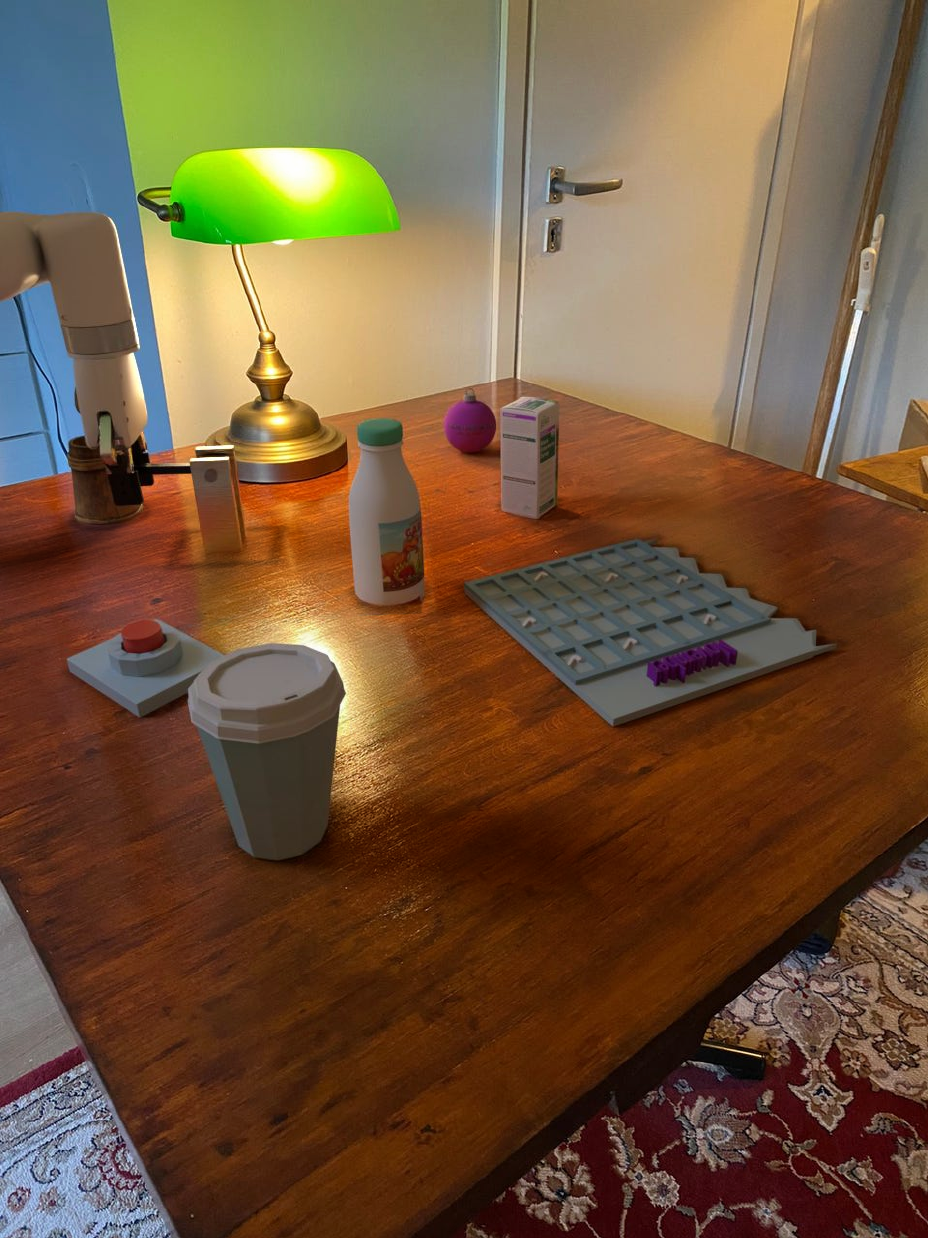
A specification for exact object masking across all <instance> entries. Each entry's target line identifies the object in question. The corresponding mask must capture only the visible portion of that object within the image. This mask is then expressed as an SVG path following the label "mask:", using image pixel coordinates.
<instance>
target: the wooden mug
mask: <svg viewBox="0 0 928 1238" xmlns="http://www.w3.org/2000/svg"><path fill="white" fill-rule="evenodd" d="M73 392H74V393H73V394H74V395H73V396H74V407H75V410H76V412H78V414H80V409H79V404H78V398H77V392H76V385H75V387H74V391H73ZM67 445H68V446H67V447H68V451H67V454H66V455H67V465H68V467H69V468H70V472H71V479H72V489H73V500H74V510H73V514H74V519H75V520H76V521H77V522H78V523H80V524H83V525H89V526H108V525H114V524H119V523H123V522H127V521H129V520H132V519H134V518H136V517H137V516H139V515H141V513H142V512H143V511H144V504H143V503H142V504H141V505H126V506H117V505H115V503H114V499H113V495H112V491H111V486H110V482H109V478H108V474H107V472H106V466H105V464H104V461H103V460H102V459H101V457H100V445H99V446H98V447H97V448H96V449H90V448H89V447H88V446H87V444H86V440H85V435H80V436H79V435H78V436H75V437H73V438H71V439H70V440H68V442H67ZM115 445H120V443H119V440H115ZM116 452H117V455H121V454H124V453H123V452H122V450H121V451H116Z"/></svg>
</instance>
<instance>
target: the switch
mask: <svg viewBox="0 0 928 1238" xmlns="http://www.w3.org/2000/svg"><path fill="white" fill-rule="evenodd" d="M218 457H227V456H226V455H203V456H202V458H218ZM132 459H133V466H134V470H137V471H138V475H153V476H154V475H191V469H190V463H189V462H166V463H165V462H159V463H156V462H153V463H152V462H150V463H151V464H138V461H137V459H136V458H134V457H132Z"/></svg>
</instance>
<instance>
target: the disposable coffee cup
mask: <svg viewBox="0 0 928 1238" xmlns="http://www.w3.org/2000/svg"><path fill="white" fill-rule="evenodd" d="M187 695H188V699H187V705H188V710H189V716H190V721H191V723H192V724H193V725H195V726H196V729H197V731H198V734H199V738H200V741H201V743H202V746H203V749H204V752H205V755H206V757H207V760H208V763H209V766H210V769H211V771H212V774H213V777H214V780H215V783H216V786H217V788H218V791H219V794H220V797H221V800H222V803H223V806H224V808H225V812H226V814H227V816H228V820H229V822H230V825H231V829H232V831H233V834H234V837H235V840H236V842H237V845H238V847H239V848H241V849H242V850H243V851H245V852H246V853H248V854H249V855H250V856H252V857H253V858H256V859H264V860H270V861H281V860H286V859H290V858H294V857H299V856H302V855H304V854H306V853H307V852H308V851H310V850H311V849H312V848H313V847H316V845H318V844H319V843H321V842H322V839H323V837H324V835H325V832H326V831H327V828H328V824H329V818H330V808H331V807H330V806H331V796H332V789H333V788H332V786H333V778H334V769H335V768H334V767H335V758H336V748H337V739H338V731H339V730H338V729H339V721H340V710H341V705H342V703H343V701H344V698H345V696H346V695H347V692H346V689H345V685H344V681H343V679H342V677H341V675H340V673H339V671H338V667H337V666H336V664H335V662H333V661H332V660H331V659H330V657H329V655H328V654H326V653H324V652H322V651H319V650H318V649H317V650H316V649H314V648H311V647H309V646H307V645H305V644H292V643H278V642H277V643H275V642H271V643H265V644H259V645H253V646H248V647H241V648H237V649H235V650H233V651H231V652H228V653H227V654H224V656H222V657H220V658H218V659H216V660H214V661H211V662H210V663H209V664H208V665H207V666H206V667H205V668H204V670H203V671H202V672H201V673H200V674H199V675H198V676H197V678H196V679H195V680H194V682H193V683H192V685H191V686H190V687H189V688H188V693H187Z"/></svg>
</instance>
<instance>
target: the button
mask: <svg viewBox="0 0 928 1238" xmlns="http://www.w3.org/2000/svg"><path fill="white" fill-rule="evenodd" d="M152 620H153V619H144V620H137V621H133V622H130V623H129V624H126V625H125V626H124V627H123V628H122V629H121V632H120V633H121V635H122V639H123V643H124V648H125V650H126V651H127V652H128V653H135V654H142V653H147V652H152V651H154V650H156V649H158V648H160V647H162V646H163V644H164V638H163V633H162V628H161V625H160V624H159V623H158V622H156V621H152Z"/></svg>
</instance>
